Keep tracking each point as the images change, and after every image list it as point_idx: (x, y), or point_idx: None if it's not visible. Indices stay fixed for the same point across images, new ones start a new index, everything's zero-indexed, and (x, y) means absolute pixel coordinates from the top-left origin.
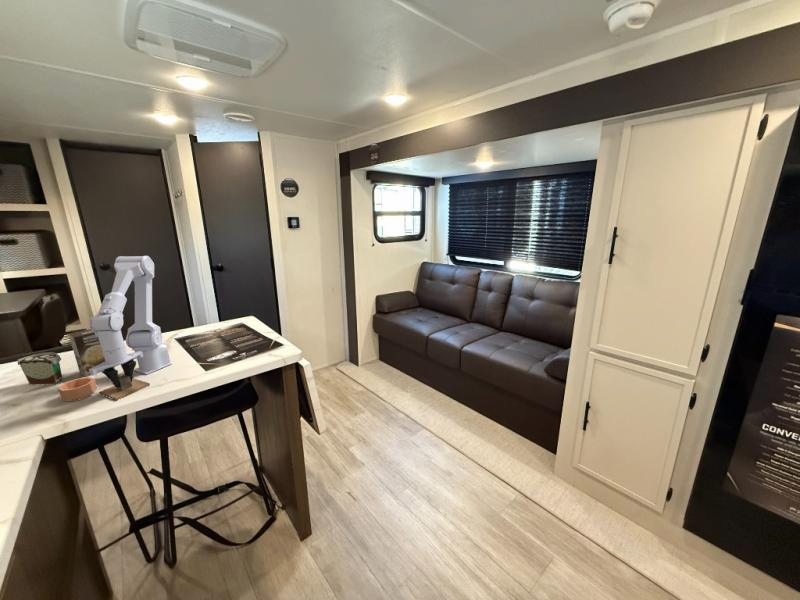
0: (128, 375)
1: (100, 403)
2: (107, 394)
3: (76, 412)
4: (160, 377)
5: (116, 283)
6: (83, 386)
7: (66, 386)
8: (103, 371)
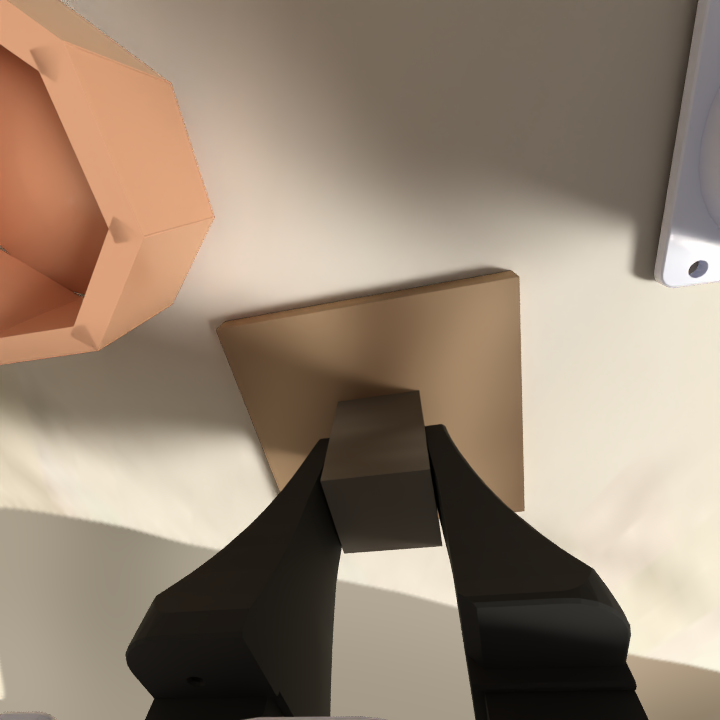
0: (443, 527)
1: (216, 472)
2: (262, 432)
3: (95, 464)
4: (649, 442)
5: None
6: (45, 357)
7: None
8: (171, 695)
